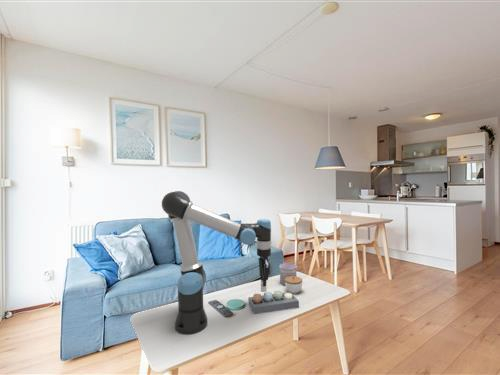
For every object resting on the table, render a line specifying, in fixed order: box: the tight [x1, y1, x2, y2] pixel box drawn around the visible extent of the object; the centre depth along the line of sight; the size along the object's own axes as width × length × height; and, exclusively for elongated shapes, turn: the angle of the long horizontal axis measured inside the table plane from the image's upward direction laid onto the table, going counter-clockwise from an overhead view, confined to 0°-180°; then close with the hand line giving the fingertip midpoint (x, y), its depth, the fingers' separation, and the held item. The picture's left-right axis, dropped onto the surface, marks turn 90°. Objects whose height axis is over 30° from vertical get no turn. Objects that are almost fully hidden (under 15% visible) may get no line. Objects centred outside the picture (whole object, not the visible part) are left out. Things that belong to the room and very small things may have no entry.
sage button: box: [273, 290, 283, 301], centre depth 140 cm, size 4×4×4 cm
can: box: [279, 262, 298, 287], centre depth 170 cm, size 11×11×12 cm
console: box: [248, 291, 300, 315], centre depth 140 cm, size 25×12×4 cm, turn 104°
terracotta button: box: [252, 293, 262, 304], centre depth 137 cm, size 4×4×4 cm
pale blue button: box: [263, 291, 273, 302], centre depth 139 cm, size 4×4×4 cm
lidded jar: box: [284, 275, 303, 295], centre depth 157 cm, size 11×11×9 cm
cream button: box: [284, 293, 292, 299], centre depth 142 cm, size 4×4×4 cm
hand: (263, 291), depth 138 cm, fingers closed
